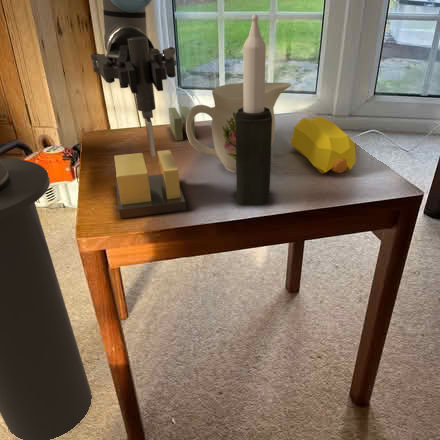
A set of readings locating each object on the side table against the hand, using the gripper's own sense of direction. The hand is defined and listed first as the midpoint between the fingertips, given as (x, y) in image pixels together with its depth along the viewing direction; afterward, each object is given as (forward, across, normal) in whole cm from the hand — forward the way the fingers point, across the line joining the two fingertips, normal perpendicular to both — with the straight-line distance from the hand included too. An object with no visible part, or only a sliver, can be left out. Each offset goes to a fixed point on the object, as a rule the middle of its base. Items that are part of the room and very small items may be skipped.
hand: (146, 80), depth 58 cm
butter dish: (-5, +1, -18) cm, 19 cm away
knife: (-5, 0, -11) cm, 12 cm away
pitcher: (-14, -16, -19) cm, 28 cm away
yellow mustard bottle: (-12, -32, -19) cm, 39 cm away
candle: (0, -14, -19) cm, 24 cm away
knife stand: (-37, -10, -19) cm, 43 cm away
